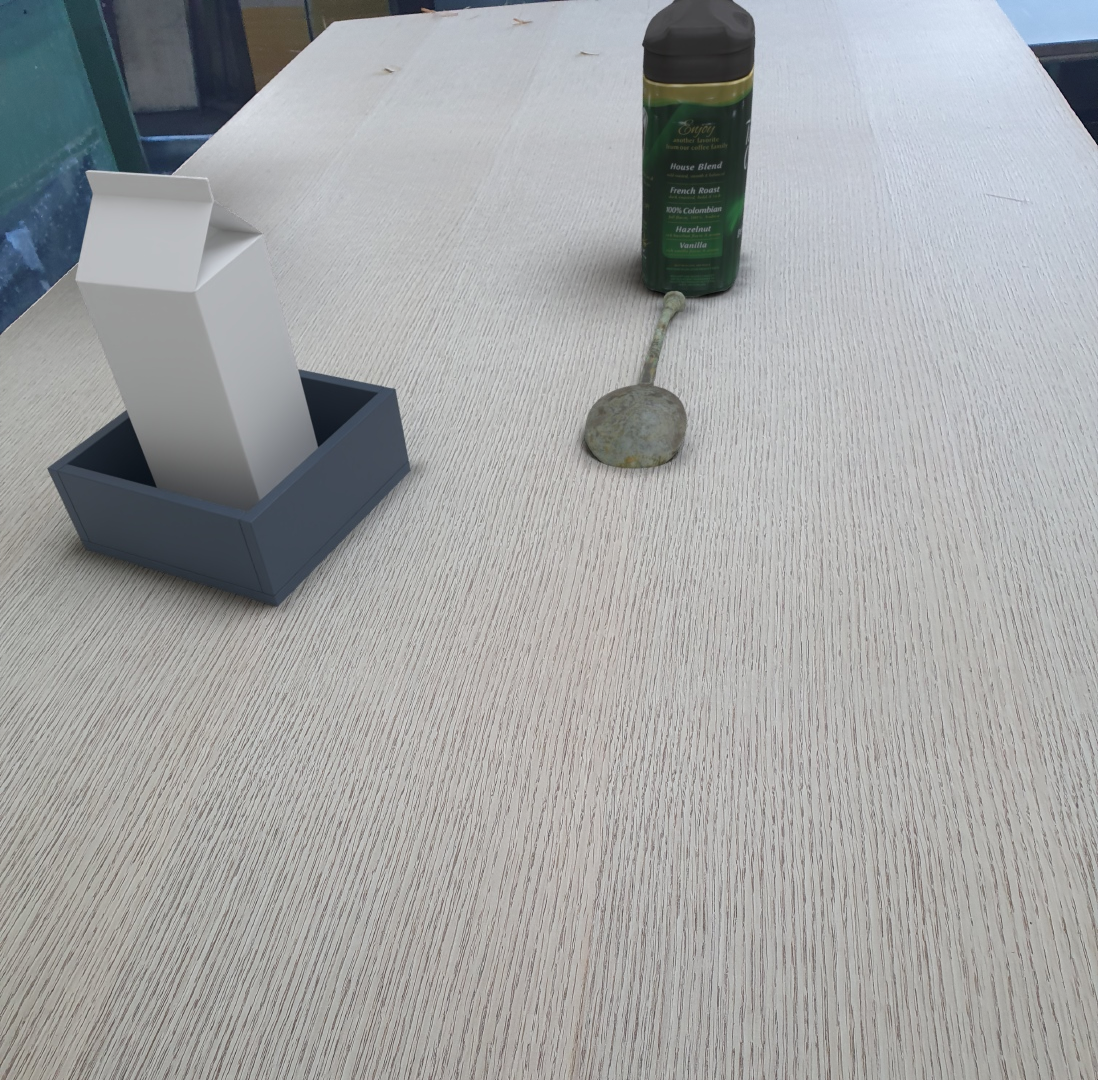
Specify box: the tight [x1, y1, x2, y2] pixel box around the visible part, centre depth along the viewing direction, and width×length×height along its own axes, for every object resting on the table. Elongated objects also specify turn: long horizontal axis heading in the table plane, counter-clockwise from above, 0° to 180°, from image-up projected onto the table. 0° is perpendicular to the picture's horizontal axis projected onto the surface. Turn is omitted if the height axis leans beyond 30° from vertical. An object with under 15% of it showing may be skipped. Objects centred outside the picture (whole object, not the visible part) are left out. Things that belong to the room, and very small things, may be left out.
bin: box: [47, 368, 412, 607], centre depth 65 cm, size 15×15×6 cm
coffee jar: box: [640, 0, 756, 298], centre depth 79 cm, size 10×8×19 cm
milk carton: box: [74, 169, 318, 512], centre depth 60 cm, size 7×7×19 cm
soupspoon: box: [584, 291, 688, 470], centre depth 74 cm, size 22×3×7 cm
